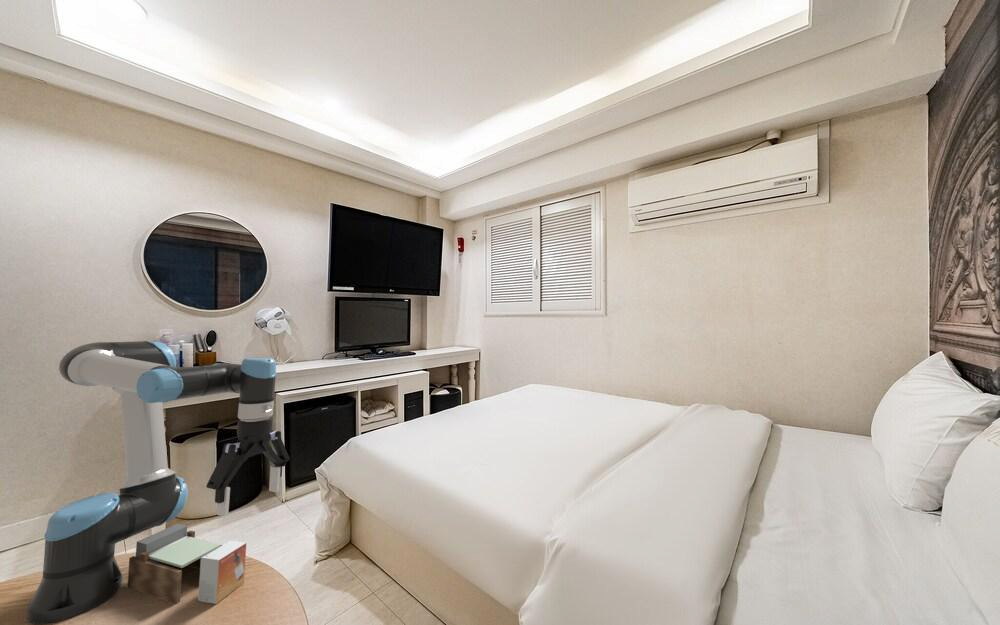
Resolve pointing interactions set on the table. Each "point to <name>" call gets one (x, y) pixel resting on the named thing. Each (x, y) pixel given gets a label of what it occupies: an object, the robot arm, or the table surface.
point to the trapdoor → (174, 547)
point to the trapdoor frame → (157, 576)
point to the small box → (222, 571)
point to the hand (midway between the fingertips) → (250, 502)
